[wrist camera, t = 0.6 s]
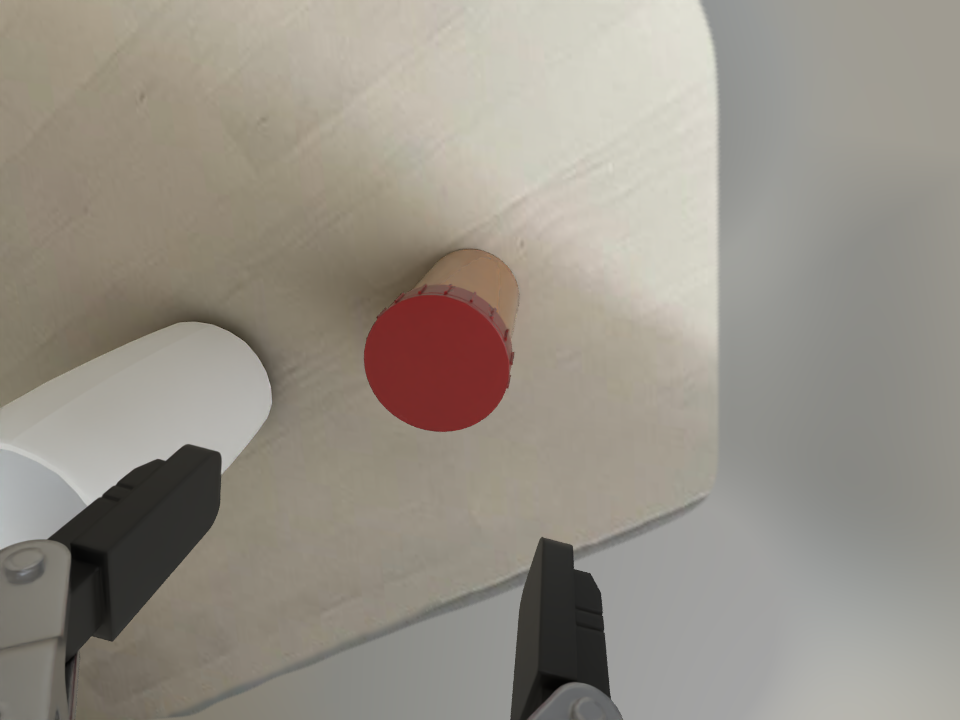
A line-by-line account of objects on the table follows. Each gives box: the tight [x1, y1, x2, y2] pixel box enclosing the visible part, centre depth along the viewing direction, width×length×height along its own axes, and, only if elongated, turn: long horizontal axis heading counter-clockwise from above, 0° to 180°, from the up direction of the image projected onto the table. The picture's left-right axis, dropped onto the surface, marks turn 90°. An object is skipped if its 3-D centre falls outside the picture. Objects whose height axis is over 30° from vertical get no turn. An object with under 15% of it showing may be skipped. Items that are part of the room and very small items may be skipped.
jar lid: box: [364, 284, 514, 432], centre depth 23 cm, size 6×6×2 cm
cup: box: [0, 322, 272, 550], centre depth 28 cm, size 8×8×14 cm
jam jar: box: [412, 249, 519, 339], centre depth 27 cm, size 5×5×9 cm
